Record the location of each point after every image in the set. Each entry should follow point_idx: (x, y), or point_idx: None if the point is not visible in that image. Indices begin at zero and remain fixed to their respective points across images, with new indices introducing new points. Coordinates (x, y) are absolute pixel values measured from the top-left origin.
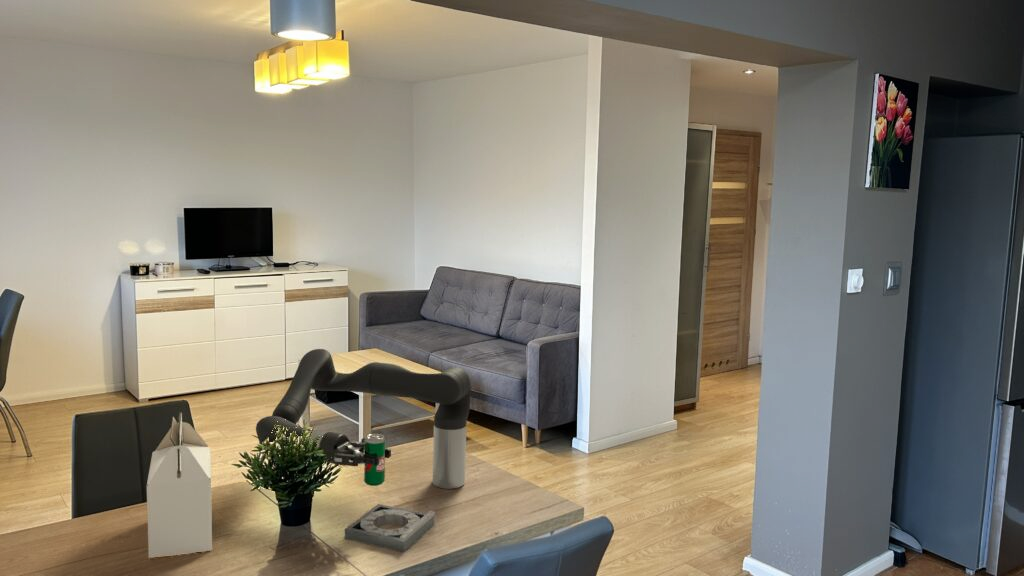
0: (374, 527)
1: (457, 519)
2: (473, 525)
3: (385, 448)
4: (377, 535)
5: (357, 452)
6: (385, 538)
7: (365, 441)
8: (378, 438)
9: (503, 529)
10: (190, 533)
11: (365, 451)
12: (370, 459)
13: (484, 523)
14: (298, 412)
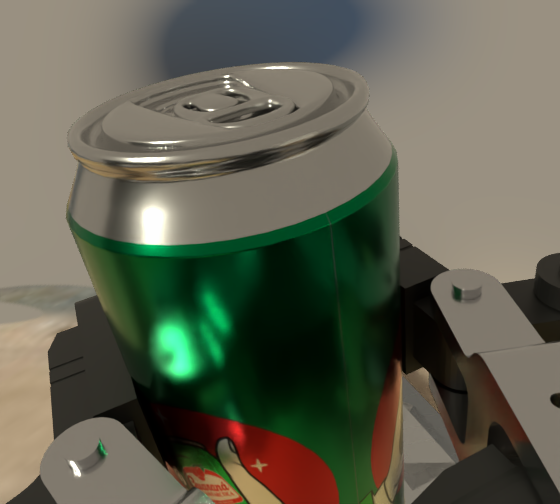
0: (415, 492)
1: (25, 461)
2: (46, 395)
3: (87, 331)
4: (436, 417)
5: (518, 345)
6: (412, 388)
7: (391, 164)
8: (242, 70)
9: (28, 337)
10: None
11: (399, 294)
12: (401, 246)
13: (12, 388)
14: None
